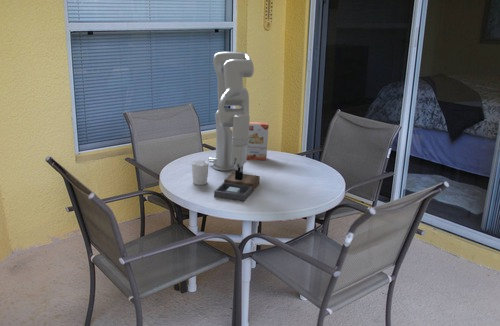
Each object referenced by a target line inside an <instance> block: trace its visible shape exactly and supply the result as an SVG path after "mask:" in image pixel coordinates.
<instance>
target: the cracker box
mask: <svg viewBox="0 0 500 326" xmlns="http://www.w3.org/2000/svg"><path fill="white" fill-rule="evenodd" d="M269 128H270V127H269V122H264V121H263V122H261V121H260V122H259V121H258V122H257V121H250V122H249V144H248V146H247V160H249V161H252V160H253V161H267V156H268V155H267V153H268V141H269V138H268V137H269ZM247 160H246V161H247Z"/></svg>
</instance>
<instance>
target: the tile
mask: <svg viewBox="0 0 500 326" xmlns="http://www.w3.org/2000/svg"><path fill="white" fill-rule="evenodd" d="M226 192H229V193H235V194H240V188H235V187H229V188H228V189H227V190H226Z"/></svg>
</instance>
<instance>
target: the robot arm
mask: <svg viewBox="0 0 500 326" xmlns="http://www.w3.org/2000/svg"><path fill="white" fill-rule="evenodd" d="M212 62H213V69H214V71H215V73H216V79H217V102H218V103H217V104H218V105H217V110H216V112H215V114H214V118H215V119H214V121H215V128H216V130H215V131H216V132H215V133H216V136H215V141H216V142H215V157H214V158H213V157H208V163H212V169H213V170H217V171H221V172H222V171H223V172H228V171H229V172H230V171H235V172H234V173H235V180H242V179H243V174H244V165H245V164H246V162H247V146H248V144H249V122H251V121H250V118H251V117H250V96H249V95H250V94H249V91H248V89H247V88H245V87H244V83H243V81H244V80H243V78H251V77H253V75H254V73H255V69H254V62H253V60H252V59H251V57H250V55H249V54H248V53H247V52H242V51H239V52H238V51H219V52H216V53H215V54H214V56H213V61H212ZM225 106H226V107H227V106H228V107H229V106H231V107H238V108H226V107H225ZM231 128H232V129H231Z"/></svg>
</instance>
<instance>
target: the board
mask: <svg viewBox="0 0 500 326" xmlns="http://www.w3.org/2000/svg"><path fill="white" fill-rule="evenodd" d="M260 179H261V176H260V175H256V174H255V175H254V174H247V173H243V179H242V180H235V172H233V171H232V172H231V173H230V174H229V175H228V176H227V177H226V178H224V181H223V182H225V183H232V184H239V185H246V186H252V193H253V192H254V191H255V190H256V189H257V188H258V186H259V185H260V181H261V180H260Z"/></svg>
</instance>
